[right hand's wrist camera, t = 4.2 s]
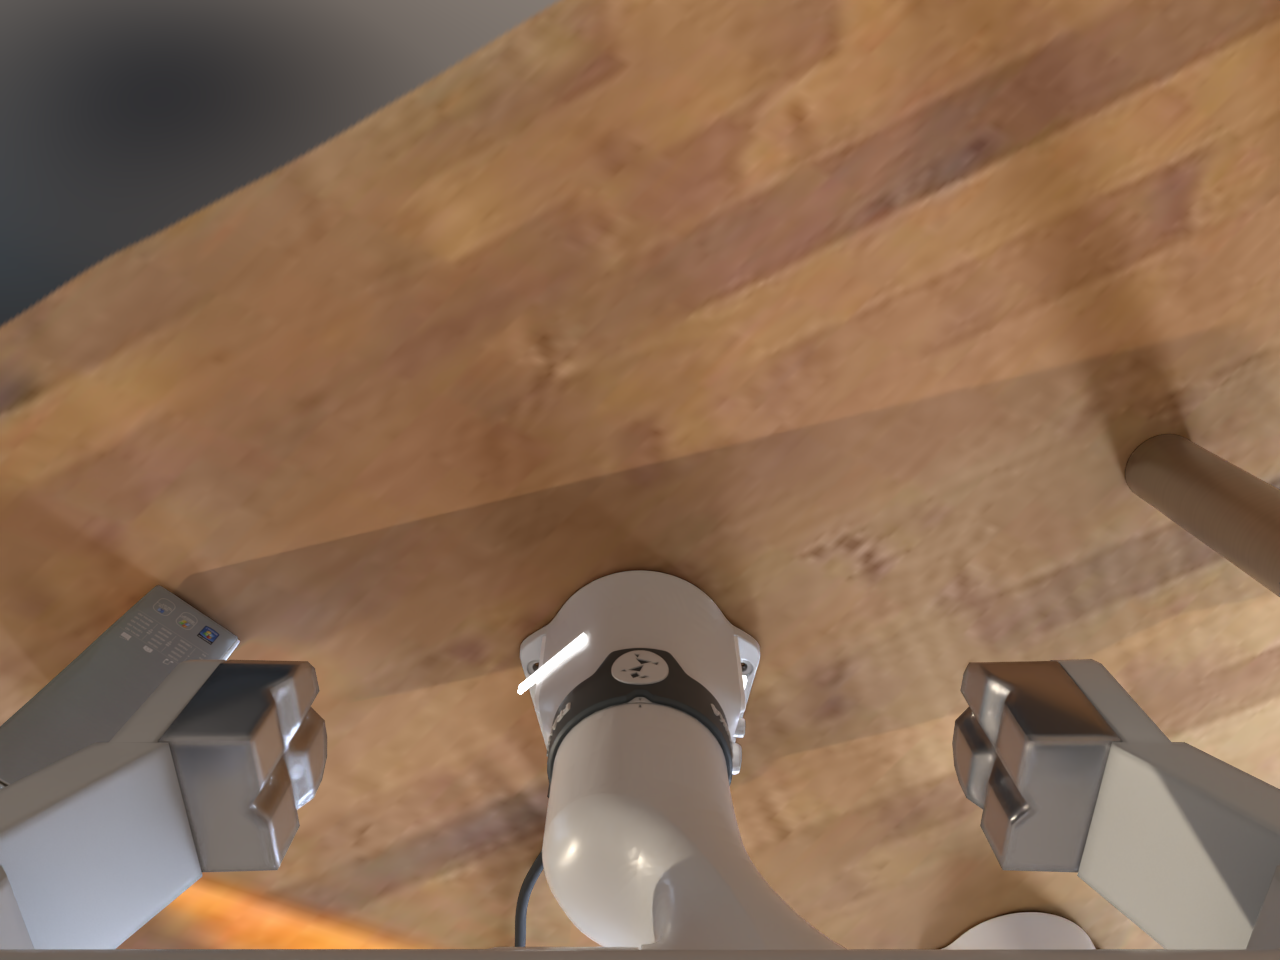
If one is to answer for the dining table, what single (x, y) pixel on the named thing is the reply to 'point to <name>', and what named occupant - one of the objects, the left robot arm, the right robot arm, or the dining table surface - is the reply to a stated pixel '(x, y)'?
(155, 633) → the hard drive box
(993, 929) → the left robot arm
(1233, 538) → the jar
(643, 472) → the dining table surface
